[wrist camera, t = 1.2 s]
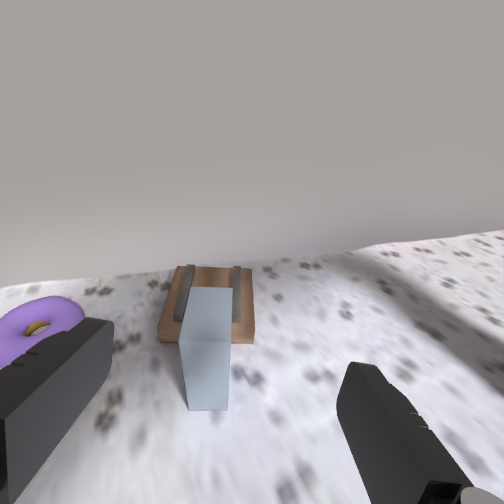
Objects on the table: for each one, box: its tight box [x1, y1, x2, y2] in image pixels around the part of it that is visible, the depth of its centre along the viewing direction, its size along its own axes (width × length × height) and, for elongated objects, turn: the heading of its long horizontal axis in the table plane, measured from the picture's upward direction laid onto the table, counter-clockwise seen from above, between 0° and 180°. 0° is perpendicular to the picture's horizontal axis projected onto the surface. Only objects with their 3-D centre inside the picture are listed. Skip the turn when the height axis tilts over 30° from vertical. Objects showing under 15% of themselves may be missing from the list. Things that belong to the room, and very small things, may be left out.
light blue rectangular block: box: [179, 287, 233, 411], centre depth 25 cm, size 4×6×12 cm
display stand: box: [157, 265, 255, 344], centre depth 36 cm, size 12×12×4 cm
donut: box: [0, 296, 84, 368], centre depth 30 cm, size 10×9×5 cm
